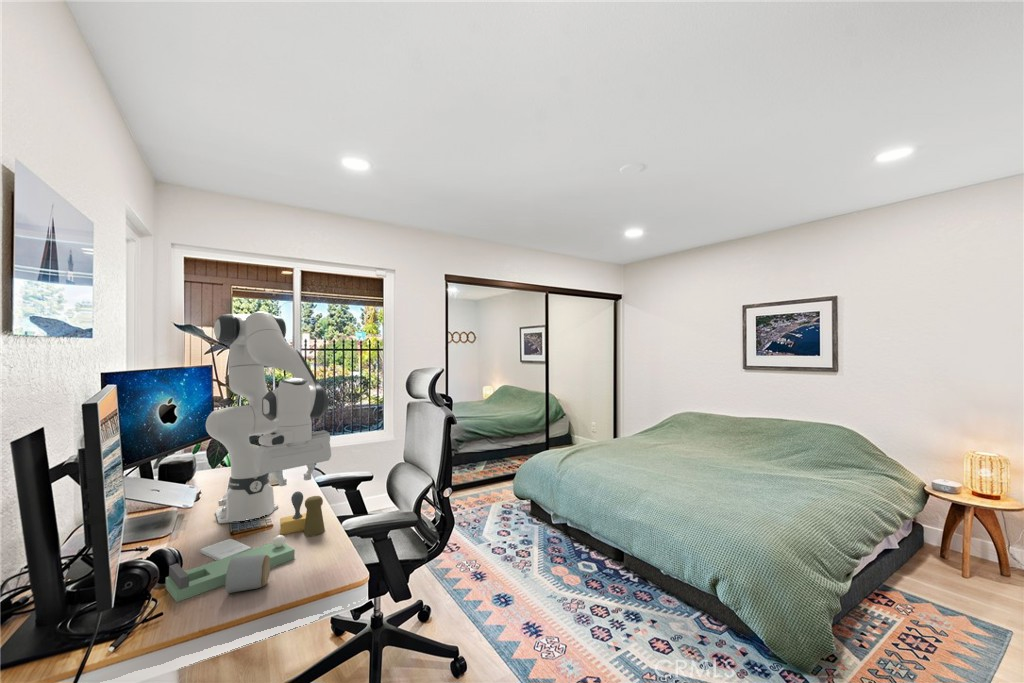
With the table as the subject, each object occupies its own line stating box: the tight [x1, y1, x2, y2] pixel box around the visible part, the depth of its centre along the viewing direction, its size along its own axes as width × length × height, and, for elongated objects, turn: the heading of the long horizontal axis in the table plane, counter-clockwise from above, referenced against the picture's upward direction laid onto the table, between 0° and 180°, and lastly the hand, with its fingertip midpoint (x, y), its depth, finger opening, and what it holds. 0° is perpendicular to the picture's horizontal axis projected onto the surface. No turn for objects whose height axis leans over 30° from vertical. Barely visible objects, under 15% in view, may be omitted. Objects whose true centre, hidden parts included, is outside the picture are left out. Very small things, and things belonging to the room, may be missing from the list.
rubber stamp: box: [279, 491, 306, 536], centre depth 138 cm, size 10×6×12 cm, turn 119°
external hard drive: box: [199, 538, 253, 561], centre depth 122 cm, size 2×8×12 cm
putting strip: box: [165, 541, 296, 603], centre depth 110 cm, size 10×26×5 cm, turn 140°
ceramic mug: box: [225, 555, 271, 594], centre depth 104 cm, size 11×8×8 cm
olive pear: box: [303, 495, 326, 537], centre depth 134 cm, size 6×6×11 cm
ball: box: [272, 534, 287, 548], centre depth 118 cm, size 3×3×3 cm
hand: (295, 482), depth 122 cm, fingers open, 5 cm apart
